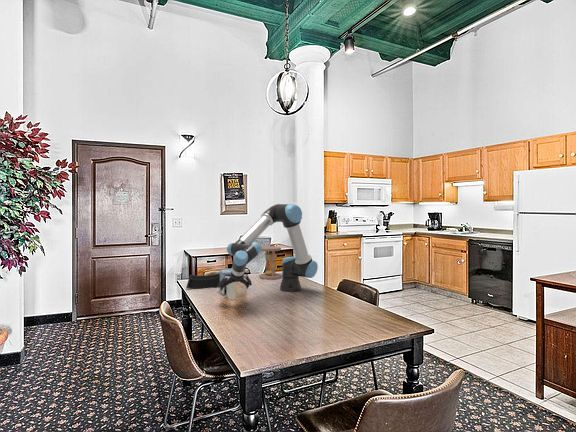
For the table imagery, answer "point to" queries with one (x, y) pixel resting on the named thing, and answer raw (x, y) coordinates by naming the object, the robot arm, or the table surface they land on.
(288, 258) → the robot arm
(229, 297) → the tile
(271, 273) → the hourglass
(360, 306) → the table surface
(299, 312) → the table surface
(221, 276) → the housing
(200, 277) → the magazine
